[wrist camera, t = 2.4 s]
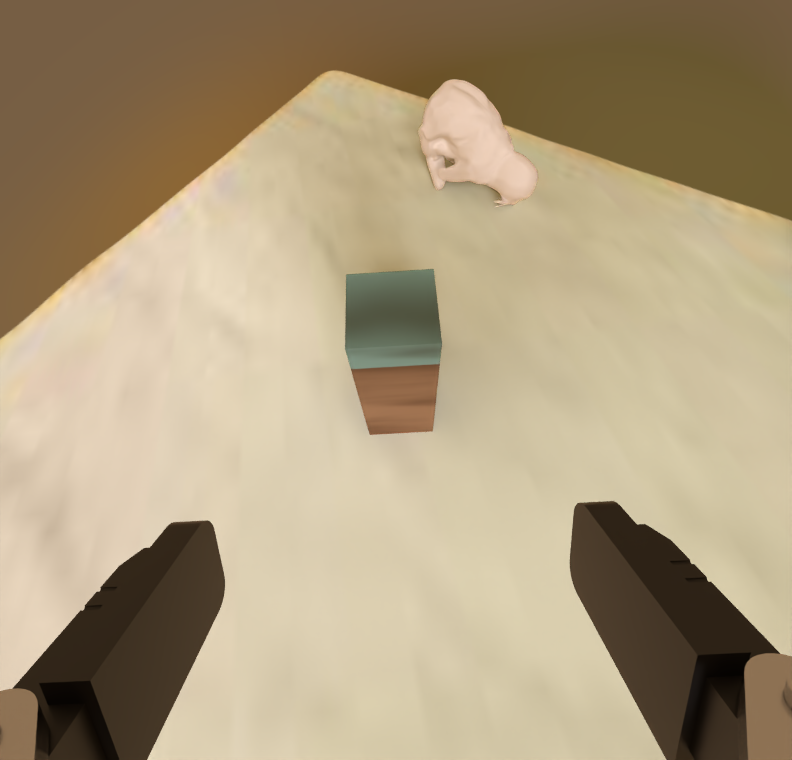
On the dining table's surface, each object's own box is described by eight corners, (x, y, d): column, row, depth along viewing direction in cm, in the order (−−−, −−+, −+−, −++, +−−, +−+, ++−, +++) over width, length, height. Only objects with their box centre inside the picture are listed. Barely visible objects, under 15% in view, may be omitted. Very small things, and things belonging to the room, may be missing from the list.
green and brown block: (368, 379, 32) (346, 274, 22) (427, 375, 32) (433, 269, 22) (369, 434, 30) (345, 348, 20) (432, 431, 30) (441, 343, 20)
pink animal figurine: (457, 57, 37) (574, 115, 34) (444, 145, 45) (538, 198, 42) (414, 90, 35) (535, 155, 32) (408, 176, 43) (505, 235, 40)
